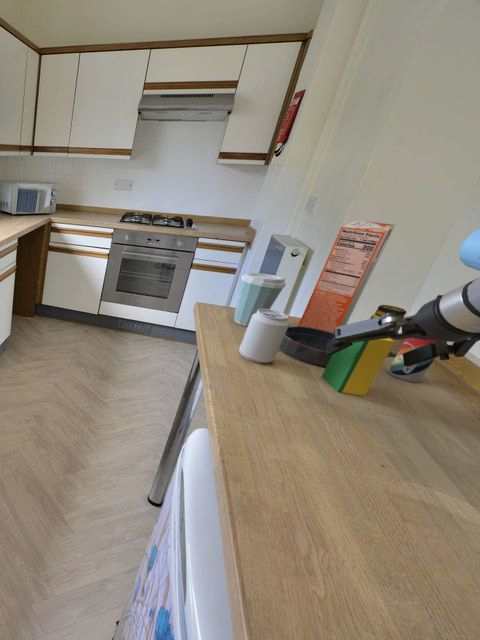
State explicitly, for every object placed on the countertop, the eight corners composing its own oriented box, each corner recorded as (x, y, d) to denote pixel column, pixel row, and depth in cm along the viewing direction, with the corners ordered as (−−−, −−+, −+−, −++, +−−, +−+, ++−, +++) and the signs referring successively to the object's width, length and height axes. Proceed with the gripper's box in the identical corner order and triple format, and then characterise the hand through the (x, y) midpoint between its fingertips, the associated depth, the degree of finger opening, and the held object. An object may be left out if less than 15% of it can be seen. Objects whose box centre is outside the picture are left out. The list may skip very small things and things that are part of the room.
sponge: (346, 380, 93) (374, 328, 87) (364, 396, 87) (395, 341, 81) (321, 376, 94) (347, 324, 88) (337, 392, 88) (366, 337, 82)
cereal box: (313, 317, 129) (357, 220, 116) (345, 326, 124) (395, 225, 111) (293, 335, 115) (341, 226, 102) (329, 345, 110) (384, 232, 97)
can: (230, 353, 103) (247, 308, 97) (250, 349, 106) (267, 305, 100) (259, 367, 97) (279, 320, 91) (280, 362, 99) (299, 316, 94)
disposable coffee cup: (218, 318, 124) (235, 270, 118) (241, 314, 128) (258, 268, 122) (252, 332, 115) (272, 281, 109) (276, 328, 120) (296, 278, 113)
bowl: (377, 372, 97) (385, 357, 95) (306, 368, 97) (313, 353, 95) (321, 340, 113) (328, 327, 111) (260, 337, 112) (265, 324, 111)
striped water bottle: (387, 375, 96) (433, 295, 87) (387, 367, 100) (431, 289, 91) (421, 385, 92) (473, 302, 84) (419, 376, 96) (469, 296, 87)
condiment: (347, 344, 111) (368, 303, 106) (372, 343, 113) (394, 302, 107) (375, 357, 105) (398, 313, 99) (401, 356, 106) (426, 313, 101)
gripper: (374, 322, 67) (298, 361, 87) (570, 347, 61) (441, 382, 81) (370, 282, 69) (297, 328, 89) (559, 302, 64) (437, 347, 83)
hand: (366, 354), depth 85 cm, fingers open, 13 cm apart
